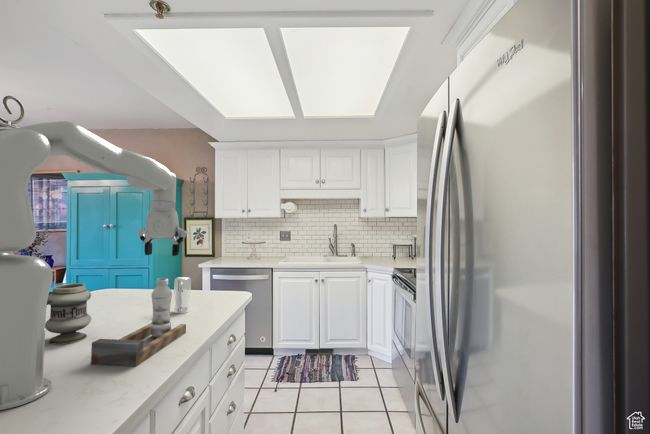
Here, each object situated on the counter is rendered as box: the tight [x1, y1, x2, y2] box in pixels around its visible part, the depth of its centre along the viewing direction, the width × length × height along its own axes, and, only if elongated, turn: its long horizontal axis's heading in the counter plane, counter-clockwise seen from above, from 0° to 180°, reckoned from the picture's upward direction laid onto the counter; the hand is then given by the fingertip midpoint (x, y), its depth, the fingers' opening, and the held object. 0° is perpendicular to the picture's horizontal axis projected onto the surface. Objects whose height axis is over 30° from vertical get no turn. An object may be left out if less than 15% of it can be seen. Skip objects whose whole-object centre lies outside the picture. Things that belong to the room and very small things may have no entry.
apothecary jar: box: [45, 282, 92, 346], centre depth 107 cm, size 12×12×18 cm
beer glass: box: [173, 276, 192, 315], centre depth 143 cm, size 7×7×15 cm
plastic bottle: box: [150, 277, 173, 339], centre depth 111 cm, size 6×7×20 cm
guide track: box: [90, 322, 187, 367], centre depth 102 cm, size 28×13×6 cm, turn 177°
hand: (161, 255), depth 112 cm, fingers open, 9 cm apart
